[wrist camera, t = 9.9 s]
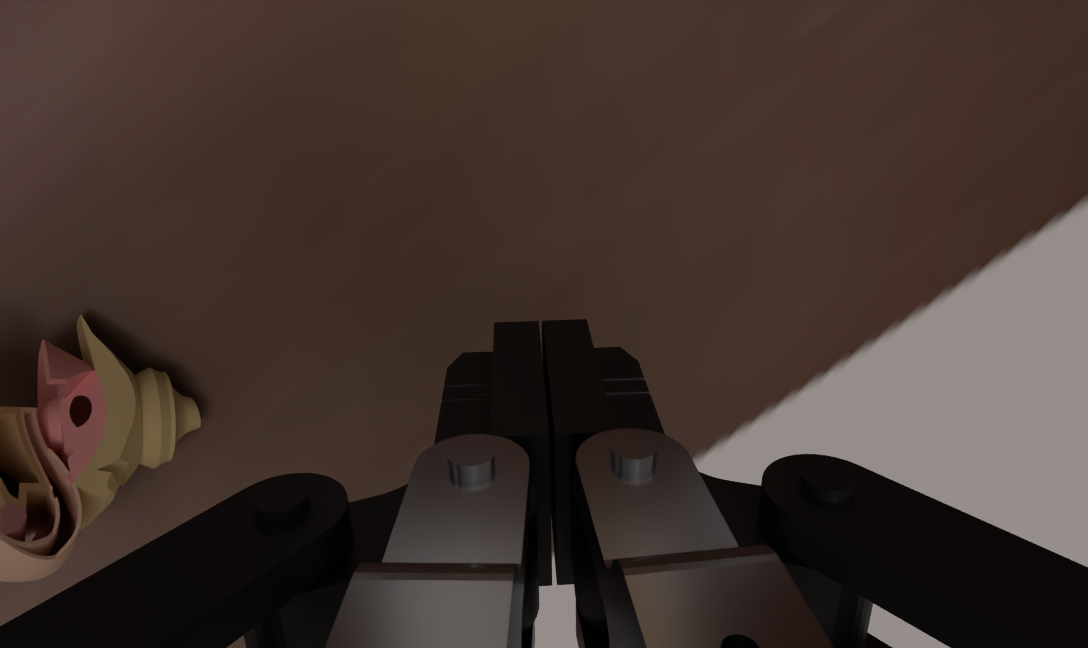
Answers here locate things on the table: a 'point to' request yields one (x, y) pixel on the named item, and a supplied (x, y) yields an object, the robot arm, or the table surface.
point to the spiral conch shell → (79, 449)
